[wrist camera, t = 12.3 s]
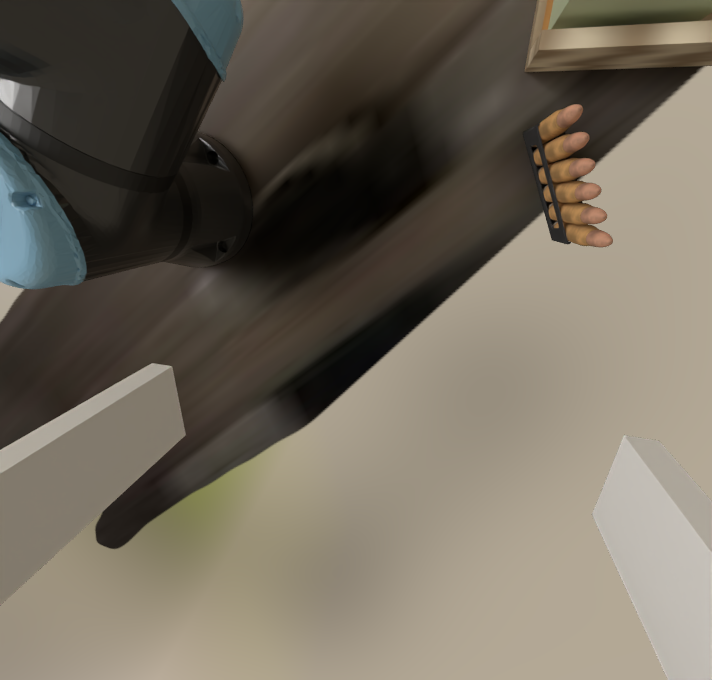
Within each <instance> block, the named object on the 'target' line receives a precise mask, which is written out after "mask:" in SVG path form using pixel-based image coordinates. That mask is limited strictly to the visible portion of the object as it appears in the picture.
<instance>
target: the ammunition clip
mask: <svg viewBox="0 0 712 680" xmlns="http://www.w3.org/2000/svg"><path fill="white" fill-rule="evenodd" d="M582 112H583V107H582V106H581V105H577V104H575V105H571V106H568V107H566V108H564V109H561V110H558V111H556V112H554V113H553V114H551V115H550V116H549V117H547V118H546V119H545V120H543V121H542V122H541V123H539V124H537V125H535V126H533V127H531V128H529V129H527V130H526V131H524V132H523V136H524V140H525V144H526V147H527V151H528V155H529V158H530V162H531V166H532V169H533V173H534V176H535V180H536V184H537V187H538V191H539V195H540V198H541V202H542V206H543V209H544V213H545V216H546V220H547V224H548V228H549V231H550V235H551V238H552V240H554V241H557V242H561V243H564V244H570V243H571V242H573V243H576V244H579V245H582V246H594V247H606V246H609V245H611V244H612V242H613V239H612V238H611V236H610V235H609V234H607V233H606V232H604V231H601V230H599V229H597V228H596V227H594V226H592V225H588V224H597V223H601V222H603V221H605V220H606V218H607V214H606V212H605V211H604V210H602V209H600V208H597V207H593V206H591V205H589V204H586V203H582V201H584V200H590V199H593V198H595V197H597V196H598V195H599V194H600V193H601V188H600V187H599V186H598V185H596V184H593V183H585V182H583V181H577V179H576V178H578V177H580V176H584V175H586V174H588V173H590V172H591V171H592V170H593V169H594V168H595V162H594V161H593V160H592V159H589V158H581V159H580V158H579V159H578V158H571V155H572V154H573V153H574V152H576V151H578V150H580V149H581V148H583V147H584V146H585V145H586V144H587V142H588V140H589V135H588V134H587V133H585V132H577V133H573V134H565V131H566V130H567V129H568V128H569V127H570V126H571V125H572V124H573V123H575V122H576V121H577V120H578V119H579V118H580V116H581V114H582ZM557 136H560V137H558V138H556V139H554V140H552V139H553V138H555V137H557ZM564 158H566V160H562V161H559V162H558V160H561V159H564ZM567 181H569V182H567ZM569 241H570V242H569Z"/></svg>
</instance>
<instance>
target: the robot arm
mask: <svg viewBox="0 0 712 680" xmlns="http://www.w3.org/2000/svg"><path fill="white" fill-rule="evenodd" d="M242 27H243V9H242V5H241V1H240V0H0V282H2V283H4V284H7V285H10V286H13V287H18V288H23V289H27V288H28V289H41V288H47V287H53V286H59V285H77V284H80V283H81V282H83V281H86V280H90V279H94V278H98V277H102V276H106V275H110V274H114V273H118V272H122V271H126V270H130V269H134V268H138V267H142V266H147V265H151V264H155V263H159V262H168V263H173V264H178V265H184V266H189V267H207V266H212V265H215V264H218V263H222V262H224V261H227V260H228V259H230V258H232V257H233V256H234V255H235V254H236V253H238V252H239V250H240V249H241V248H242V246H243V245H244V243H245V242H246V240H247V238H248V235H249V232H250V229H251V225H252V217H253V205H252V197H251V192H250V188H249V185H248V182H247V179H246V177H245V175H244V173H243V171H242V169H241V167H240V165H239V164H238V162H237V161H236V159H235V158H234V157H233V156H232V154H231V153H230V152H229V151H228V150H227V149H226V148H225V147H224V146H223V145H221V144H220V143H219V142H217V141H216V140H214V139H213V138H211V137H209V136H207V135H205V134H202V133H199V132H197V131H198V129H199V127H200V125H201V123H202V121H203V119H204V117H205V114H206V112H207V110H208V108H209V106H210V104H211V102H212V100H213V98H214V96H215V94H216V92H217V90H218V88H219V85H220V83H221V81H223V82H224V81H225V79H226V68H227V66H228V63H229V61H230V58H231V56H232V53H233V51H234V48H235V46H236V44H237V41H238V39H239V36H240V34H241V31H242ZM184 436H185V430H184V425H183V420H182V414H181V409H180V404H179V399H178V394H177V389H176V384H175V379H174V374H173V369H172V366H166V365H160V364H153V363H152V364H150V365H148V366H147V367H145V368H143V369H141V370H140V371H138V372H136V373H134V374H133V375H131V376H129V377H127V378H126V379H124V380H122V381H120V382H119V383H117V384H115V385H113V386H112V387H110V388H108V389H106V390H105V391H103V392H101V393H99V394H98V395H96V396H94V397H92V398H91V399H89V400H87V401H85V402H84V403H82V404H80V405H78V406H77V407H75V408H73V409H71V410H70V411H68V412H66V413H64V414H63V415H61V416H59V417H57V418H56V419H54V420H52V421H50V422H49V423H47V424H45V425H43V426H42V427H40V428H38V429H36V430H35V431H33V432H31V433H29V434H28V435H26V436H24V437H22V438H21V439H19V440H17V441H15V442H14V443H12V444H10V445H8V446H7V447H5V448H3V449H0V606H1V605H2V604H3V603H4V602H5V601H6V600H7V599H8V598H9V597H10V596H11V595H12V594H13V593H15V592H16V591H17V590H18V589H19V588H20V587H21V586H22V585H23V584H24V583H25V582H27V580H29V579H30V578H31V577H32V576H33V575H34V574H35V573H36V572H37V571H38V570H40V569H41V568H42V567H43V566H44V565H45V564H46V563H47V562H48V561H49V560H50V559H52V558H53V557H54V556H55V555H56V554H57V553H58V552H59V551H60V550H61V549H62V548H63V547H64V546H66V545H67V544H68V543H69V542H70V541H71V540H72V539H73V538H74V537H75V536H76V535H77V534H79V533H80V532H81V531H82V530H83V529H84V528H85V527H86V526H87V525H88V524H89V523H90V522H92V521H93V520H94V519H95V518H96V517H97V516H98V515H99V514H100V513H101V512H103V511H104V510H105V509H106V508H107V507H108V506H109V505H110V504H111V503H112V502H113V501H114V500H116V499H117V498H118V497H119V496H120V495H121V494H122V493H123V492H124V491H125V490H126V489H127V488H129V487H130V486H131V485H132V484H133V483H134V482H135V481H136V480H137V479H138V478H139V477H141V476H142V475H143V474H144V473H145V472H146V471H147V470H148V469H149V468H150V467H151V466H152V465H154V464H155V463H156V462H157V461H158V460H159V459H160V458H161V457H162V456H163V455H164V454H165V453H167V452H168V451H169V450H170V449H171V448H172V447H173V446H174V445H175V444H176V443H177V442H178V441H180V440H181V439H182V438H183V437H184ZM592 516H593V518H594V520H595V523H596V525H597V527H598V529H599V531H600V533H601V536H602V538H603V540H604V542H605V544H606V546H607V549H608V551H609V553H610V555H611V557H612V560H613V562H614V564H615V566H616V568H617V570H618V573H619V575H620V577H621V579H622V581H623V583H624V586H625V588H626V590H627V592H628V594H629V597H630V599H631V601H632V603H633V605H634V607H635V609H636V612H637V613H638V616H639V618H640V620H641V623H642V625H643V627H644V629H645V631H646V633H647V636H648V638H649V640H650V642H651V644H652V646H653V649H654V651H655V653H656V655H657V657H658V660H659V662H660V664H661V666H662V668H663V670H664V673H665V675H666V677H667V679H668V680H712V501H711V500H710V498H709V497H708V496H707V495H706V494H705V493H704V492H703V490H702V489H701V488H700V487H699V486H698V485H697V484H696V482H695V481H694V480H693V479H692V478H691V477H690V475H689V474H688V473H687V472H686V471H685V470H684V469H683V468H682V466H681V465H680V464H679V463H678V462H677V461H676V460H675V458H674V457H673V456H672V455H671V454H670V453H669V451H668V450H667V449H666V448H665V447H664V446H663V445H662V444H661V442H660V441H659V440H652V439H646V438H639V437H632V436H626V435H624V437H623V439H622V441H621V444H620V446H619V449H618V451H617V454H616V456H615V459H614V461H613V464H612V466H611V469H610V471H609V474H608V476H607V478H606V481H605V483H604V486H603V488H602V491H601V494H600V496H599V498H598V501H597V503H596V506H595V508H594V511H593V513H592Z"/></svg>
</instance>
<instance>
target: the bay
mask: <svg viewBox="0 0 712 680" xmlns="http://www.w3.org/2000/svg"><path fill="white" fill-rule="evenodd" d="M552 6H553V0H537V4H536V10H535V16H534V21H533V27H532V32H531V38H530V43H529V49H528V55H527V60H526V66H525V71H524V72H542V71H571V70H600V69H629V68H658V67H687V66H712V13H710V14H709V15H707V16H706V17H704V18H703V19H702V20H700V21H691V22H674V23H656V24H638V25H620V26H603V27H585V28H567V29H550V30H548V26H549V21H550V16H551V11H552Z"/></svg>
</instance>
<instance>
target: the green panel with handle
mask: <svg viewBox="0 0 712 680" xmlns="http://www.w3.org/2000/svg"><path fill="white" fill-rule="evenodd" d="M710 13H712V0H553V6H552V11H551V16H550V21H549V26H548V30H550V29H567V28H585V27H603V26H620V25H638V24H656V23H674V22H691V21H700V20H702V19H703V18H704V17H706V16H707V15H709V14H710Z"/></svg>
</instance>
